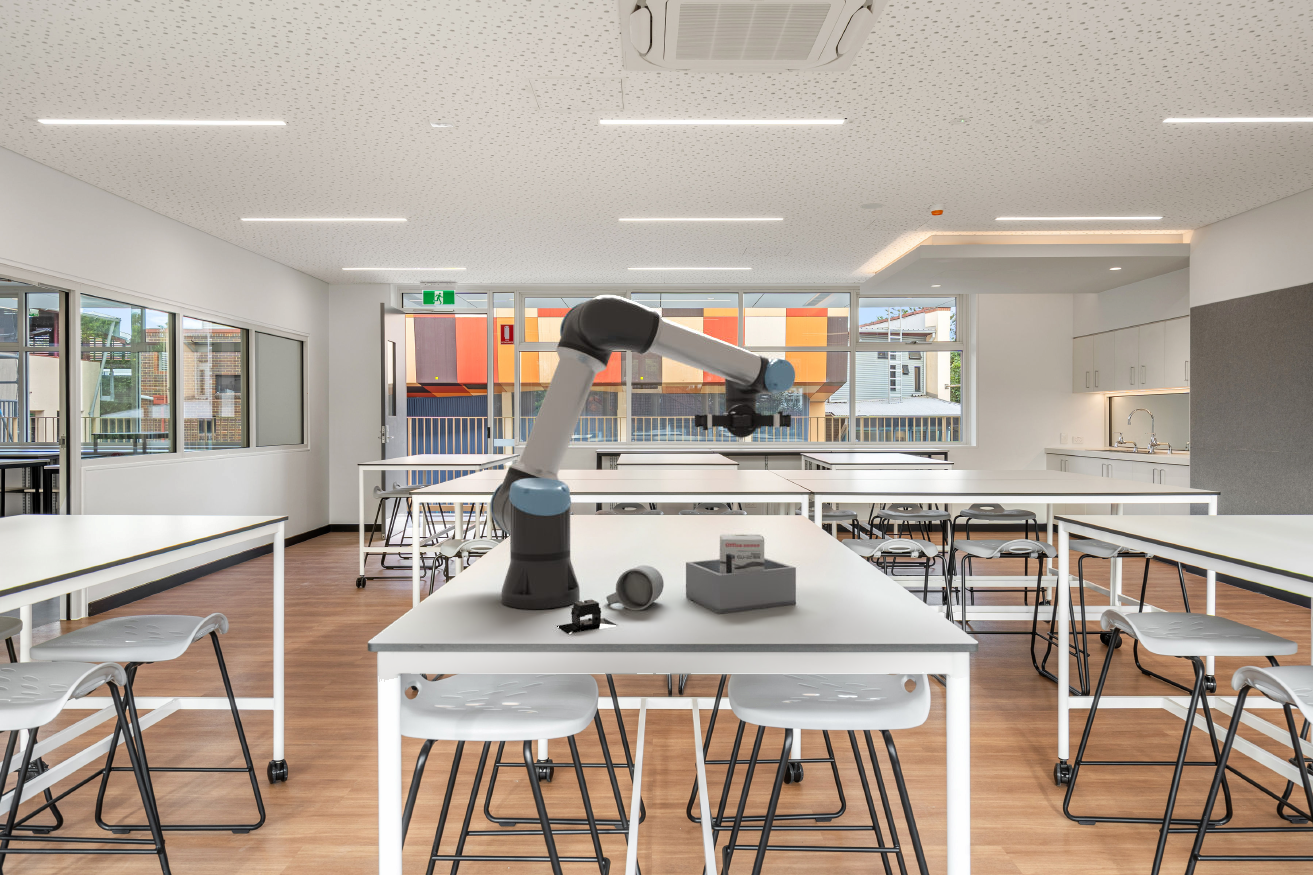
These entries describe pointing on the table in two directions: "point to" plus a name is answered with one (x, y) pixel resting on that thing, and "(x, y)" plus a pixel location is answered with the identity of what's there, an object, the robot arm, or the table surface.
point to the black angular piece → (588, 624)
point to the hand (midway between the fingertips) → (743, 420)
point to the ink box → (741, 553)
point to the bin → (740, 586)
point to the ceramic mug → (638, 588)
